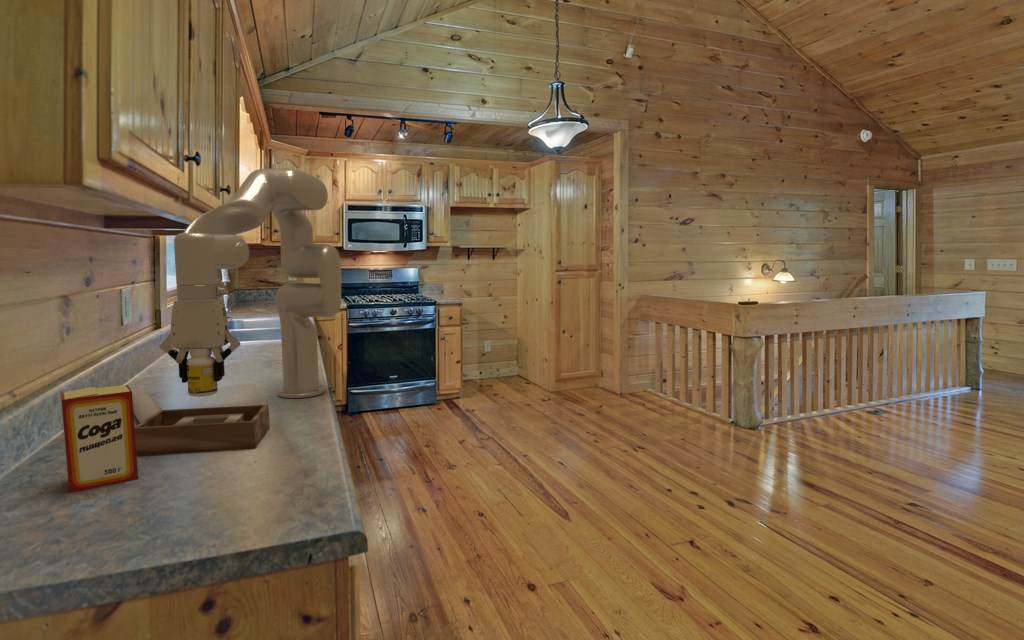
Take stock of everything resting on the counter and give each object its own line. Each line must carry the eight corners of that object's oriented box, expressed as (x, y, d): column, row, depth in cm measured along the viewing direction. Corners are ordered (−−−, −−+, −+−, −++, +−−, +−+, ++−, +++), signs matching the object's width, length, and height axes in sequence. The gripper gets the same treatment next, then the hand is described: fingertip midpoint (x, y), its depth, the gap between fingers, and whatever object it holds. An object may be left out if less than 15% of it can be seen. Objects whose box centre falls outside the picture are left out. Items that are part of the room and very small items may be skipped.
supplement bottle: (182, 395, 116) (180, 348, 115) (208, 390, 121) (206, 345, 120) (197, 398, 114) (195, 350, 113) (223, 393, 118) (221, 347, 117)
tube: (172, 413, 127) (155, 392, 146) (145, 409, 123) (131, 388, 143) (165, 436, 126) (149, 412, 145) (138, 433, 123) (125, 409, 142)
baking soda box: (133, 468, 103) (127, 382, 102) (138, 478, 98) (131, 388, 97) (67, 481, 97) (60, 390, 96) (69, 492, 92) (61, 397, 91)
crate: (162, 434, 123) (160, 410, 123) (269, 428, 128) (268, 404, 127) (133, 456, 110) (131, 428, 109) (255, 448, 114) (253, 422, 114)
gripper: (247, 292, 121) (251, 375, 122) (159, 293, 117) (163, 379, 119) (238, 294, 113) (242, 382, 115) (143, 295, 110) (149, 386, 112)
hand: (202, 380), depth 117 cm, fingers closed on supplement bottle, 5 cm apart
